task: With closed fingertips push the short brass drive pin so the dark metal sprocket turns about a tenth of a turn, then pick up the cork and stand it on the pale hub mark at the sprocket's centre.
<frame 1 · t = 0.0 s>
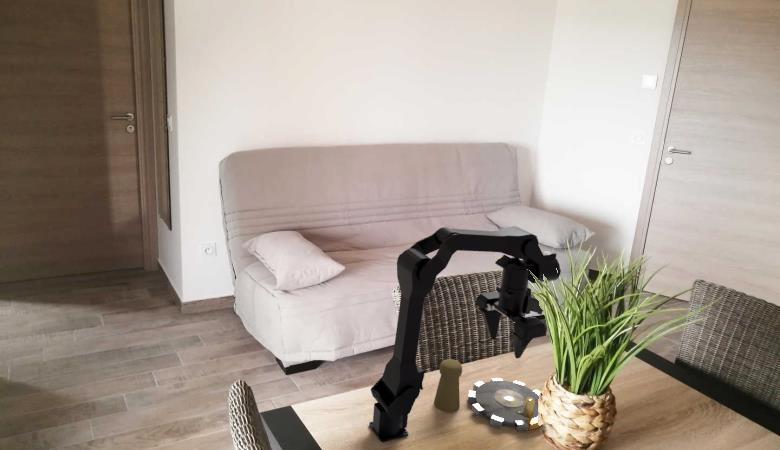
hand: (505, 348, 132), 15 cm above the table, tool pointing down, fingers open, 9 cm apart
sprocket: (509, 395, 134), point 3 cm above the table, hinge at 0.0°
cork: (446, 405, 135), on the table
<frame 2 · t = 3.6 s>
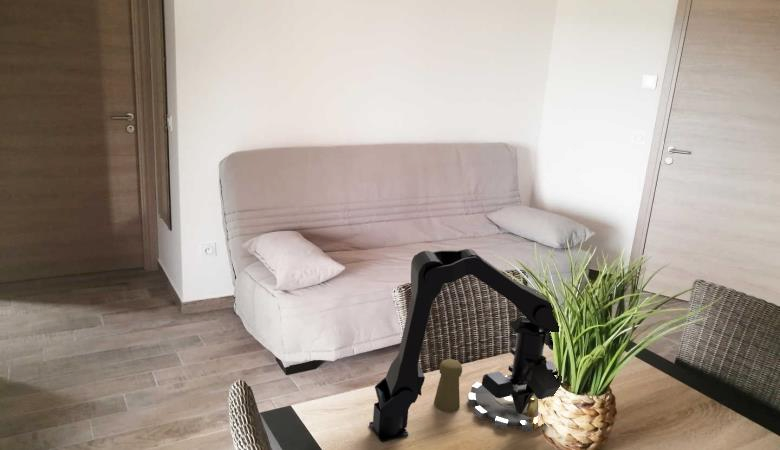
hand: (519, 412, 128), 3 cm above the table, tool pointing down, fingers closed
sprocket: (509, 395, 134), point 3 cm above the table, hinge at 6.5°, touching gripper
everything else where it was.
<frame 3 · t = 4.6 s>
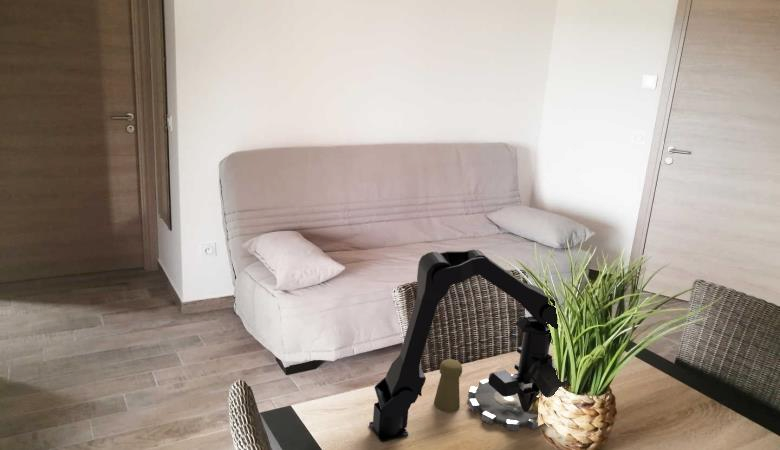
hand: (525, 410, 129), 3 cm above the table, tool pointing down, fingers closed
sprocket: (509, 395, 134), point 3 cm above the table, hinge at 22.4°, touching gripper
everything else where it was.
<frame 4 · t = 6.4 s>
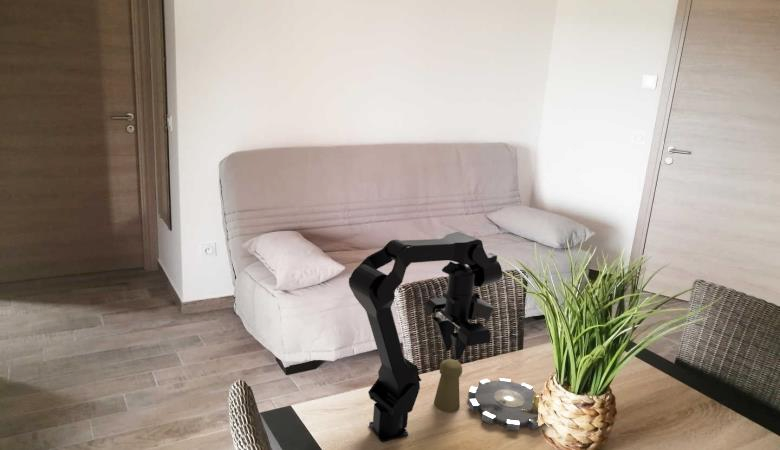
hand: (452, 354, 131), 13 cm above the table, tool pointing down, fingers open, 4 cm apart
sprocket: (509, 395, 134), point 3 cm above the table, hinge at 22.7°
everything else where it was.
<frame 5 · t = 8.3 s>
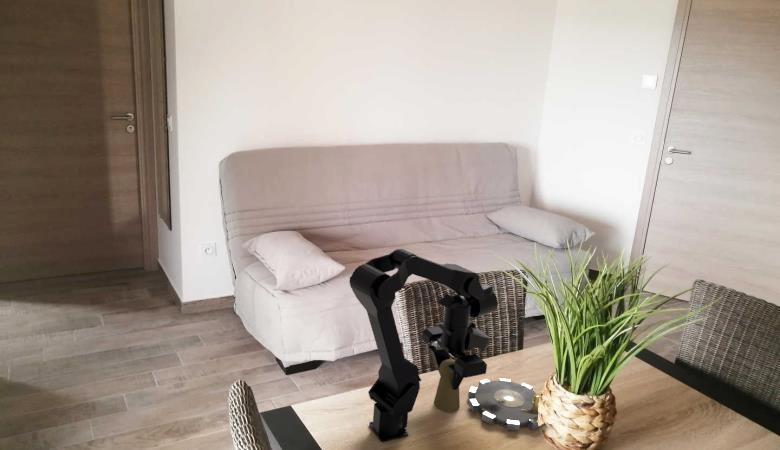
hand: (449, 383, 133), 6 cm above the table, tool pointing down, fingers closed on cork, 5 cm apart
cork: (446, 405, 135), on the table, touching gripper
everything else where it was.
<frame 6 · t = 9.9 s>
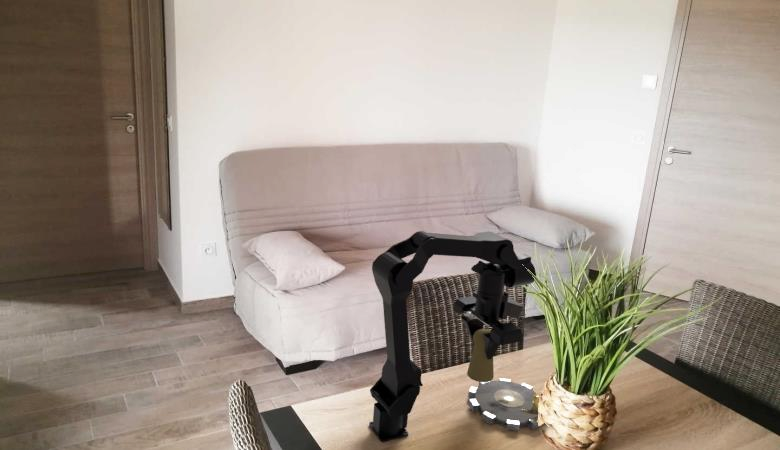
hand: (482, 353, 132), 13 cm above the table, tool pointing down, fingers closed on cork, 5 cm apart
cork: (480, 375, 133), point 8 cm above the table, touching gripper
everything else where it was.
when the fingers open (9 cm above the table, at t = 11.4 s): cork stays where it is, resting on sprocket.
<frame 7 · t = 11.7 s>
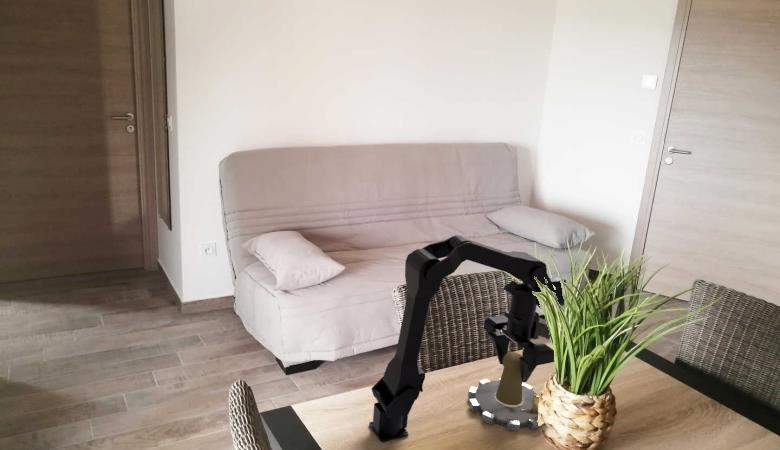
hand: (512, 372, 133), 9 cm above the table, tool pointing down, fingers open, 8 cm apart
sprocket: (509, 395, 134), point 3 cm above the table, hinge at 22.7°, touching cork
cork: (508, 398, 135), point 2 cm above the table, touching sprocket
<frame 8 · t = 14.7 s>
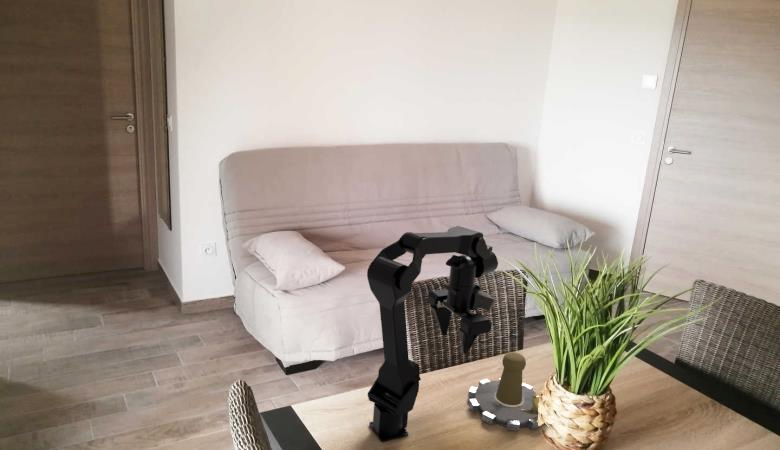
hand: (454, 344, 136), 13 cm above the table, tool pointing down, fingers open, 9 cm apart
nothing on the table moved.
at the end: sprocket at +23° (first picture: +0°); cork 0.1 cm from the sprocket (horizontally); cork tilted 0° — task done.
